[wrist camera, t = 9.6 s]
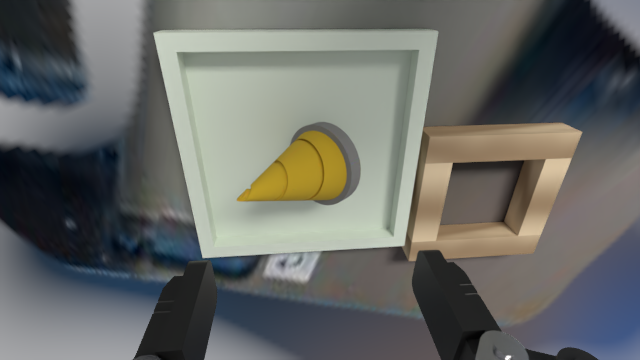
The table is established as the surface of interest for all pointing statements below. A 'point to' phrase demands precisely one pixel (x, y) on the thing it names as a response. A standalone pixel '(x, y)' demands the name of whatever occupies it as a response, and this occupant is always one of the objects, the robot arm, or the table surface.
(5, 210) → the table surface
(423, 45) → the tray
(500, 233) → the square wooden frame
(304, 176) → the yellow cone
